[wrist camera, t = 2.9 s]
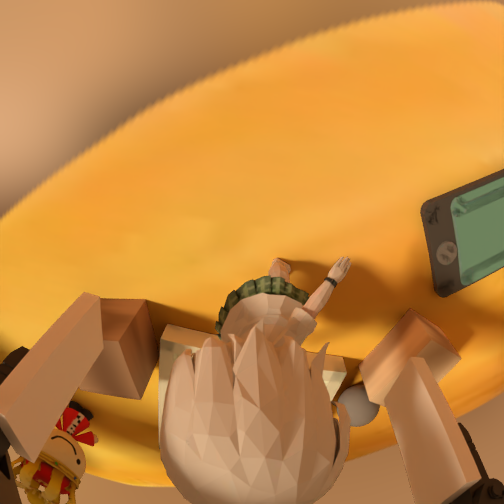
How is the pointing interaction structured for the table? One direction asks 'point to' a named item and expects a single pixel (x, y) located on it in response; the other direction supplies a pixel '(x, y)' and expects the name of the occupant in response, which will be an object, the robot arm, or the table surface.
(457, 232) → the smartphone
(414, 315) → the maple block
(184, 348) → the tray
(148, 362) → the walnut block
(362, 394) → the grey ball
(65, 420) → the toy
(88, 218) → the table surface
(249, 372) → the figurine
